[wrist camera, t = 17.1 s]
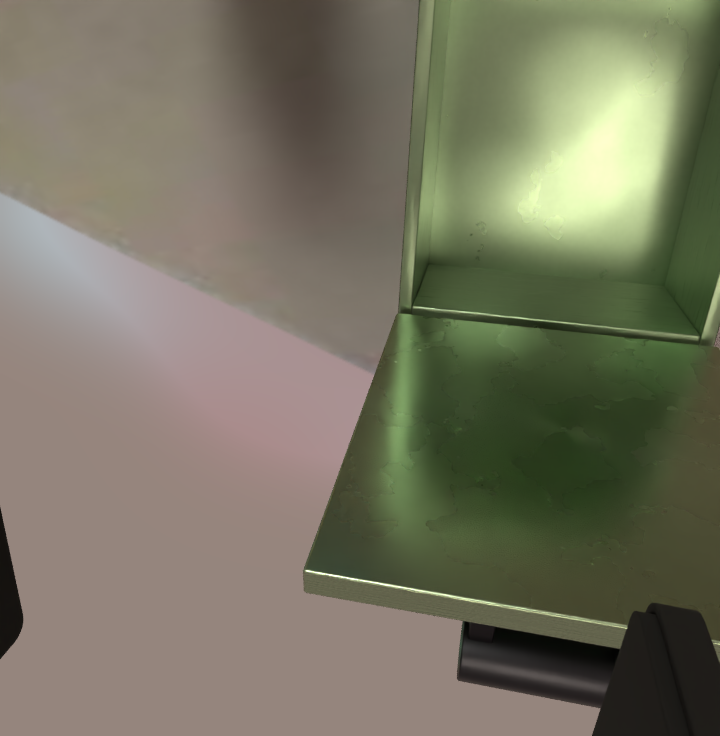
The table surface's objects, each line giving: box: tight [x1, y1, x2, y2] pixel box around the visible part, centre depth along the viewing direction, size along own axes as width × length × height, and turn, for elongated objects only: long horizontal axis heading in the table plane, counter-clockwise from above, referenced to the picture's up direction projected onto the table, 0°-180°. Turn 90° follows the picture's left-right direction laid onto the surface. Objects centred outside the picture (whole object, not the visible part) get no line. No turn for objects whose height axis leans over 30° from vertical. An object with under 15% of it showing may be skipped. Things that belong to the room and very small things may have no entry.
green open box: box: [398, 0, 720, 347], centre depth 29 cm, size 14×13×8 cm
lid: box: [303, 313, 720, 708], centre depth 23 cm, size 15×13×5 cm
